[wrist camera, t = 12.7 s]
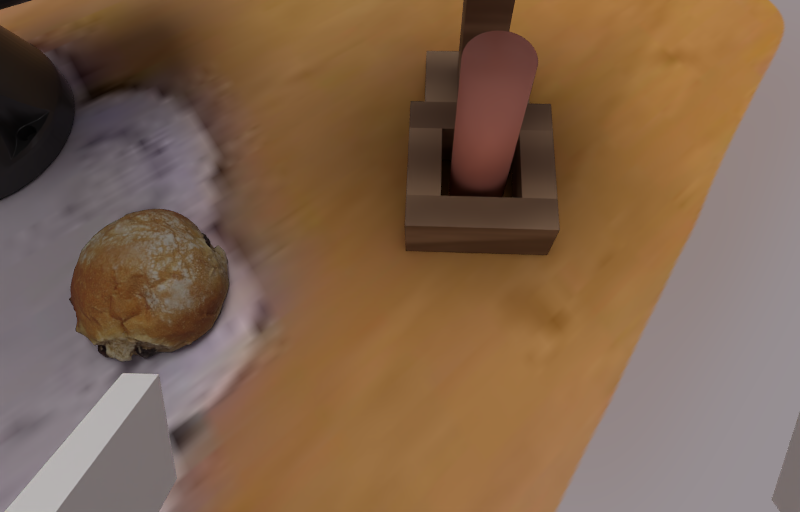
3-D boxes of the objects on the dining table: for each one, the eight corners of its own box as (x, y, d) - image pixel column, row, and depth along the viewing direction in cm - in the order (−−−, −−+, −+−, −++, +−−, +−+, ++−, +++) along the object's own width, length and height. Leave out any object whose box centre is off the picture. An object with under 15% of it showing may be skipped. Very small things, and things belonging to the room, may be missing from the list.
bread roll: (256, 318, 44) (265, 247, 39) (135, 405, 37) (124, 334, 32) (169, 242, 47) (167, 165, 41) (42, 310, 40) (18, 229, 35)
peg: (440, 179, 44) (449, 44, 31) (488, 161, 45) (516, 21, 32) (462, 223, 43) (481, 100, 30) (511, 204, 43) (551, 74, 30)
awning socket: (575, 255, 41) (821, -142, 16) (378, 249, 42) (318, -142, 17) (560, 66, 48) (717, -423, 23) (390, 63, 49) (361, -416, 24)
